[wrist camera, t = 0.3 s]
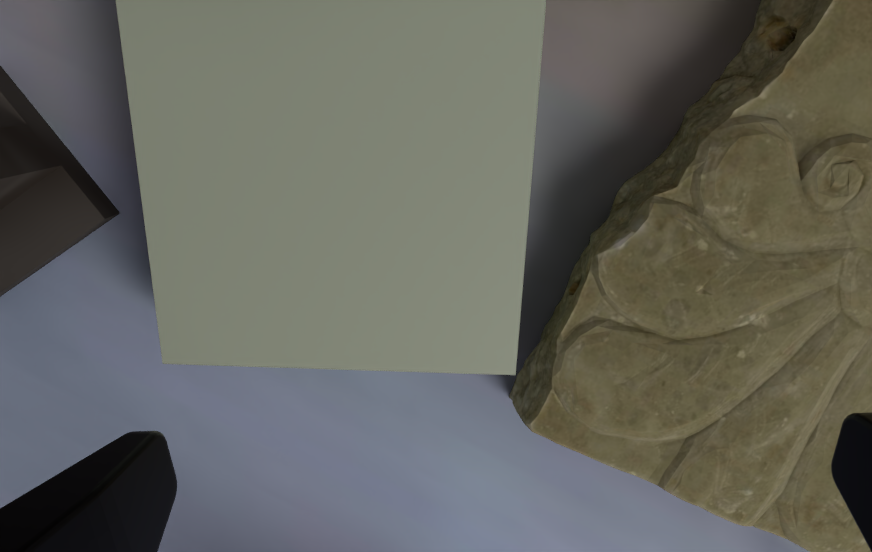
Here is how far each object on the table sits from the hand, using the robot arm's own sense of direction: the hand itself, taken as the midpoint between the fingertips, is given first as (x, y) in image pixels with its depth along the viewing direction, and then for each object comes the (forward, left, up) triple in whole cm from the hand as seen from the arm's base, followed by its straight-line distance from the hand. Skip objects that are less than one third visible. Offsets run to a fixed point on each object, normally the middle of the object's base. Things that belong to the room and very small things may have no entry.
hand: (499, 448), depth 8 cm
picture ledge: (+2, +4, -14) cm, 15 cm away
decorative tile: (-2, -14, -15) cm, 20 cm away
